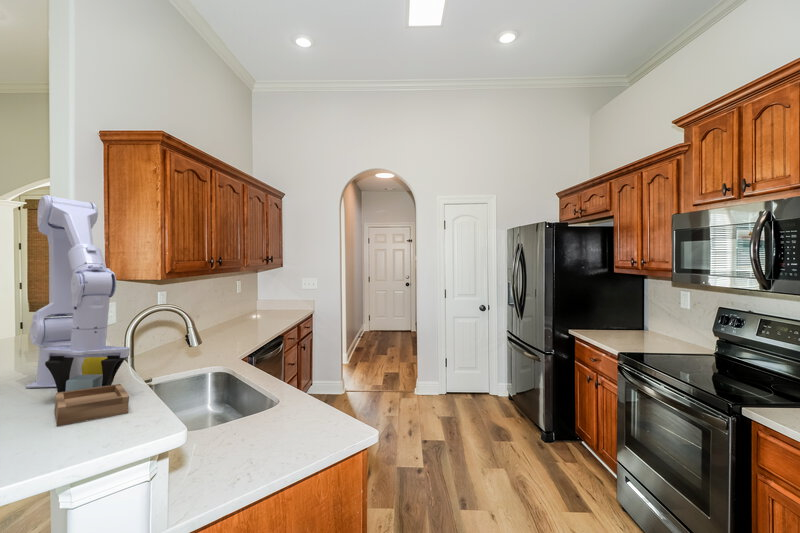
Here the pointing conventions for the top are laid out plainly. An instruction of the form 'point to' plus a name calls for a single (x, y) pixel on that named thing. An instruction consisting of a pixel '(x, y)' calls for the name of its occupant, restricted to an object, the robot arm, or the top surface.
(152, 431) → the top surface
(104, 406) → the walnut base
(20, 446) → the top surface
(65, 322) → the robot arm
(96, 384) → the block
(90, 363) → the lemon
